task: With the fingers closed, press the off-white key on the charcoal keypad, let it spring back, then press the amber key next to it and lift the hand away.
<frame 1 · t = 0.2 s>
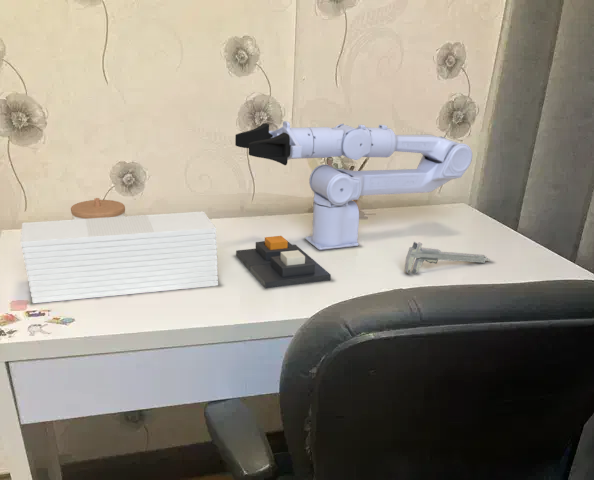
hand: (242, 144, 125), 21 cm above the table, tool horizontal, fingers open, 7 cm apart
keypad 2: (289, 276, 126), on the table
white key: (292, 258, 124), point 3 cm above the table, slide at 0.1 cm
caliper: (448, 268, 132), on the table
amber key: (276, 243, 132), point 3 cm above the table, slide at 0.1 cm
trinket box: (102, 244, 139), on the table
stack of papers: (126, 284, 121), on the table
keypad 1: (273, 260, 133), on the table
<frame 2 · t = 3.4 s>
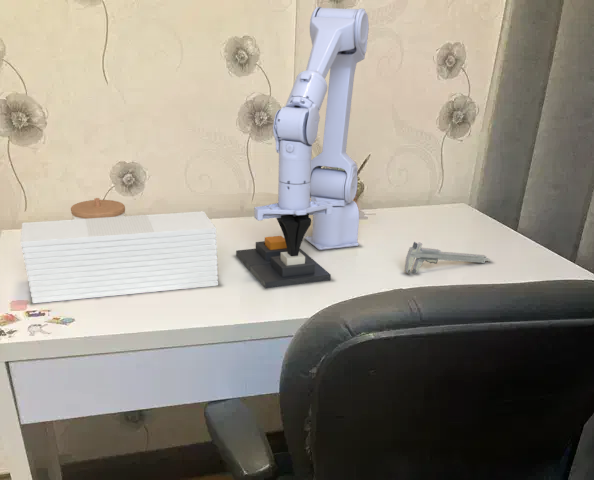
hand: (292, 254, 124), 4 cm above the table, tool pointing down, fingers closed, pressing on white key
white key: (292, 258, 124), point 3 cm above the table, slide at 0.0 cm, touching gripper
everything else where it was.
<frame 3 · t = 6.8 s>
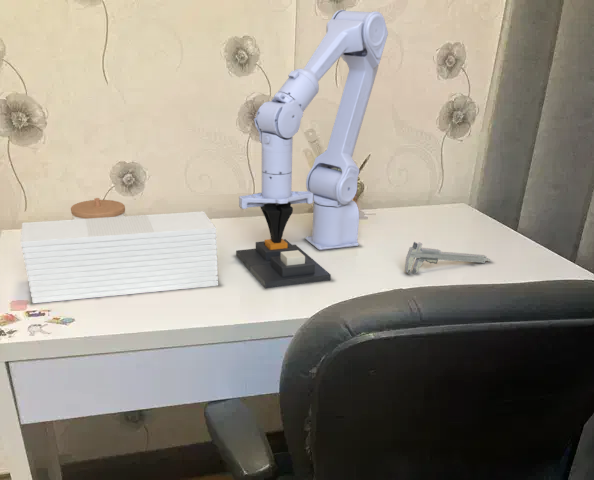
hand: (275, 241, 131), 4 cm above the table, tool pointing down, fingers closed, pressing on amber key
white key: (292, 258, 124), point 3 cm above the table, slide at 0.1 cm
amber key: (276, 245, 132), point 3 cm above the table, slide at -0.4 cm, touching gripper
everything else where it was.
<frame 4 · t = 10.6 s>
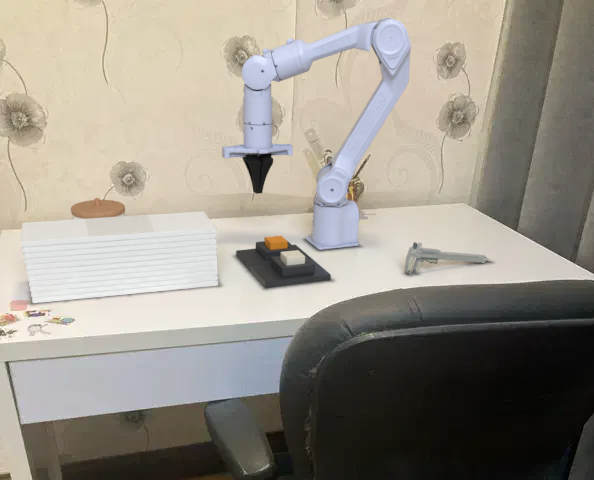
hand: (257, 192, 138), 10 cm above the table, tool pointing down, fingers closed
amber key: (276, 243, 132), point 3 cm above the table, slide at 0.1 cm
everything else where it was.
at the end: white key pushed in 1.2 cm at the most during the clip, back to where it started at the end; amber key pushed in 1.2 cm at the most during the clip, back to where it started at the end; amber key slide at 0.1 cm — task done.
